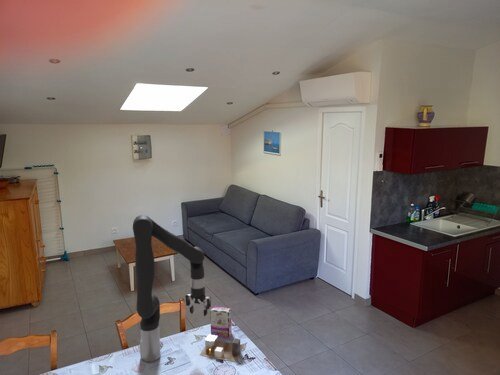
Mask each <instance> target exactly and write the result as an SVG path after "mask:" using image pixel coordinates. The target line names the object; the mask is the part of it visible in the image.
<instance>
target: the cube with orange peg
mask: <svg viewBox="0 0 500 375" xmlns="http://www.w3.org/2000/svg"><path fill="white" fill-rule="evenodd" d="M218 337H219V336H215V335H211V334H208V335H207V337H206V338H205V339H204V345H205V346H204V348H205V350H208V351H209V354H211V353H212V351H213V352H214V351H215V349H216V348H217V347H218V341H219V340H218V339H219V338H218Z"/></svg>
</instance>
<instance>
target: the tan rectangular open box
mask: <svg viewBox="0 0 500 375" xmlns="http://www.w3.org/2000/svg"><path fill="white" fill-rule="evenodd" d="M218 347H222V348H223V356H222V357H221V358H218V357H215V351H214V352H213V351H212V353H211V354H209V351H208V350H205V347H203V349H202V351H201V352H200V353H199V356H202V357H207V358H211V359H212V358H213V359H217V360H222V361H226V362H232V363H236V362H237V360H238V358H239V356H241V353H242V351H243V349H244V347H245V345H243V344H241V338H233V341H232V342H231V343H229V342H226V341H219V340H218Z"/></svg>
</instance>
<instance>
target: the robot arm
mask: <svg viewBox="0 0 500 375" xmlns="http://www.w3.org/2000/svg"><path fill="white" fill-rule="evenodd" d="M132 223H133V224H132V231H133V232H132V233H133V235H134V236H133V237H134V241H135V255H134V258H135V259H134V263H135V264H134V266H135V269H134V270H135V277H136V311H137V312H136V313H137V315H138V316H139V317H140V318H141V319H140V323H139V326H140V327H139V328H140V341H139V354H140V356H139V357H140V359H142V360H143V362H146V363H152V362H156V361H158V359H160V357H161V354H162V353H161V339H160V337H161V335H160V318H161V308H160V307H161V305H160V304H161V303H160V300H159V297H157V295H155V294H154V293H153V292H152V290H153V285H154V282H155V281H154V280H155V278H156V266H155V265H156V264H155V263H156V262H155V256H154V252H153V247H152V246H153V244H152V239H153V238H155V239H156V240H158V241H160V243H162V244H163V245H165V246H166V247H167V248H169V249H170V250H171V251H174V252H176V253H178V254H179V255H181V256H183V257H184V258H185V259H187V260H188V261H189V264H190V285H189V286H190V293H187V294H186V295H185V305H186V307H187V306H188V307H189V312H190V314H191V315H193V313H194V311H195V309H194V304H197V305H200V306H201V307H202V308H203V316H204V317H206V316H207V315H208V310H209V309H210V308H212V297H211V296H206V280H205V268H204V264H203V263H204V260H205V253H204V251H203V249H202V248H201V247H199V246H192V245H191V244H190V243H189V242H187V241H186V240H185V239H183V238H181V237H180V236H177V235H175V233H172V232H170V231H169V230H168V229H165V228H164V227H162V226H161V225H159V224H158V223H157V222H156V221H154V220H153V219H152V218H150V217H149V215H146V214H141V215H138V216H136V217H135V218H134V220H133V222H132Z"/></svg>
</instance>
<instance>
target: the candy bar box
mask: <svg viewBox="0 0 500 375" xmlns="http://www.w3.org/2000/svg"><path fill="white" fill-rule="evenodd" d="M209 312H210V313H209V314H210V335H215V336H218V337H223V338H230V337H231V336H232V308H230V307H223V306H211V309H210V310H209Z"/></svg>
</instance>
